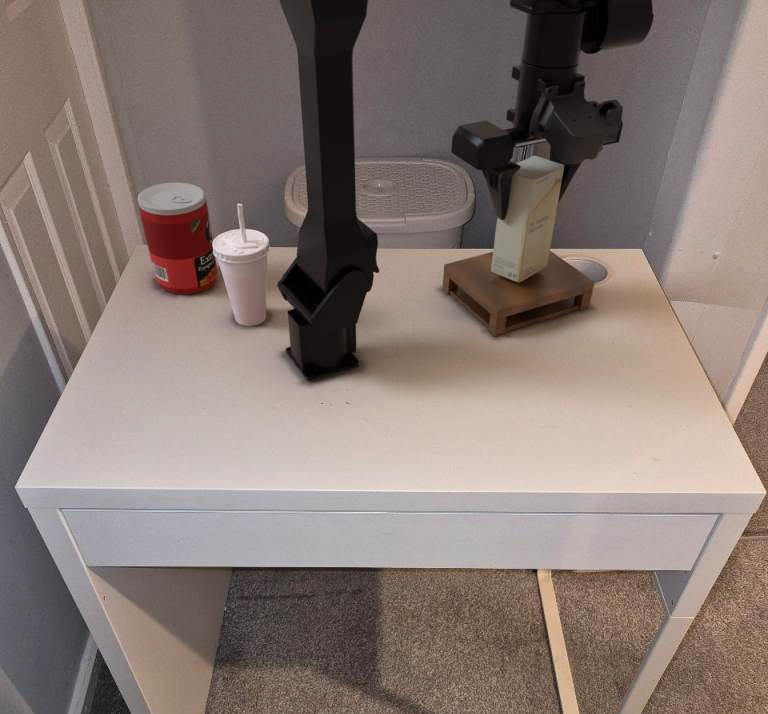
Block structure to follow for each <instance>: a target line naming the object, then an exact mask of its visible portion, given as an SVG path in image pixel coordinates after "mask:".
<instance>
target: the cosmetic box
mask: <svg viewBox="0 0 768 714" xmlns="http://www.w3.org/2000/svg"><path fill="white" fill-rule="evenodd" d="M515 163H516V164H518V165H519V166H521V168H520V169H519V170H518V171H517V172H516V173H515V174H514V175H513V177H512V182H511V190H510V197H509V204H508V210H507V214H506V217H505V219H504V220H501V219H499V218H498V217H497V216H496V217H497V218H496V219H497V220H496V227H495V233H494V242H493V251H492V252H493V258H492V266H491V272H494V273H496V274H498V275H501V276H503V277H505V278H508V279H510V280H513V281H516V282H518V283H520V282H522V281H523V280H525V279H527V278H528V277H530V276H532V275H533V274H535V273H537V272H539V271H540V270H542V269H544V268H545V267H546V266H547V264H548V258H549V253H550V251H551V246H552V240H553V234H554V228H555V223H556V217H557V211H558V205H559V204H558V200H559V194H560V188H561V183H562V177H563V171H564V165H563V164H560V163H556V162H553V161H550V159H547V158H545V157H541V156H537V155H531V156H529V157H527V158H525V159H523V160H520V161H518V162H515Z"/></svg>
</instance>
